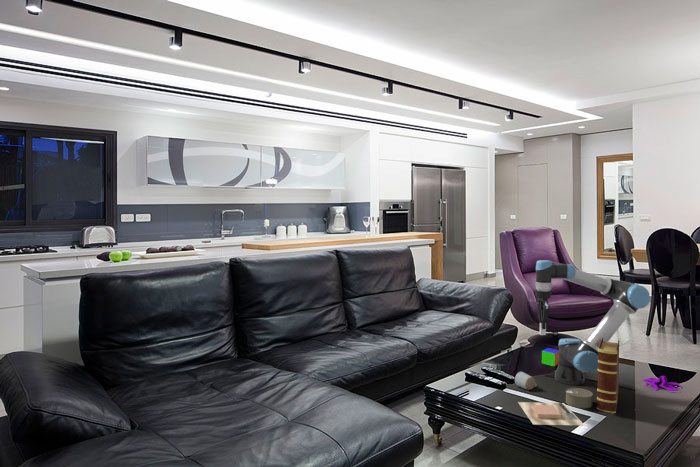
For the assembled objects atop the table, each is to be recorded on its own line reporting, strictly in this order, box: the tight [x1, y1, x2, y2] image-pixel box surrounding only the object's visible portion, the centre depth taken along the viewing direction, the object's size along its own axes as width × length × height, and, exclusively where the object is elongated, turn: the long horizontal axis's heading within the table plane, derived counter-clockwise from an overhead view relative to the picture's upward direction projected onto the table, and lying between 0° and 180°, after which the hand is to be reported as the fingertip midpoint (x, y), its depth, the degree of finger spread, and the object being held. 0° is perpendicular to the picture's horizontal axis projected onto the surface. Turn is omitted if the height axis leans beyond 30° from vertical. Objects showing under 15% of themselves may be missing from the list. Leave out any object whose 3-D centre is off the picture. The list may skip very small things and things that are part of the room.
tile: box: [531, 405, 561, 419], centre depth 221 cm, size 10×2×10 cm
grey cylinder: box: [514, 371, 537, 390], centre depth 257 cm, size 11×8×8 cm
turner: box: [558, 402, 578, 419], centre depth 224 cm, size 4×16×1 cm, turn 176°
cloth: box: [642, 375, 682, 391], centre depth 258 cm, size 22×19×6 cm
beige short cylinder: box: [565, 387, 594, 409], centre depth 233 cm, size 12×12×7 cm
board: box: [517, 401, 585, 427], centre depth 222 cm, size 22×24×1 cm
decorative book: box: [596, 339, 620, 414], centre depth 232 cm, size 22×8×30 cm, turn 148°
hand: (542, 334), depth 252 cm, fingers closed
